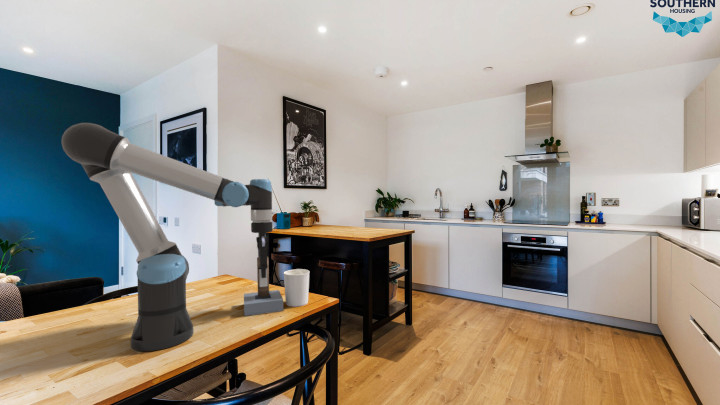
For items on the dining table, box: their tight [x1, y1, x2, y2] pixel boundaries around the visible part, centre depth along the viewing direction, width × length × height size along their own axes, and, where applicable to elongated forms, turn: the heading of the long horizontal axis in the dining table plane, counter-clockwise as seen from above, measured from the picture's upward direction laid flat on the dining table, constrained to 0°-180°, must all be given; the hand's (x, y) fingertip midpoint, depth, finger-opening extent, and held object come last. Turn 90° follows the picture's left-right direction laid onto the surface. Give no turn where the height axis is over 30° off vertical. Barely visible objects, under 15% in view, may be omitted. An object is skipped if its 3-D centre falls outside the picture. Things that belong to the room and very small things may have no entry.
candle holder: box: [283, 268, 310, 308], centre depth 119 cm, size 10×10×12 cm
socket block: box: [243, 289, 284, 317], centre depth 115 cm, size 13×13×4 cm
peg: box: [256, 256, 270, 297], centre depth 115 cm, size 4×4×14 cm
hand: (263, 284), depth 115 cm, fingers closed on peg, 4 cm apart
